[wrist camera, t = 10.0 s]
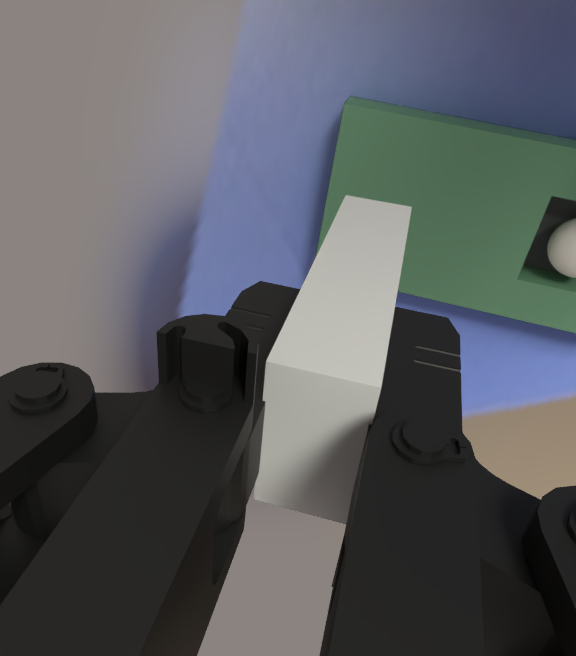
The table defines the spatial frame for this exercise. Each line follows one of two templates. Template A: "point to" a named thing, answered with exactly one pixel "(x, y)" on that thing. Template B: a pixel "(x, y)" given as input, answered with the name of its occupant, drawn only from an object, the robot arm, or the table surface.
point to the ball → (563, 248)
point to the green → (464, 205)
